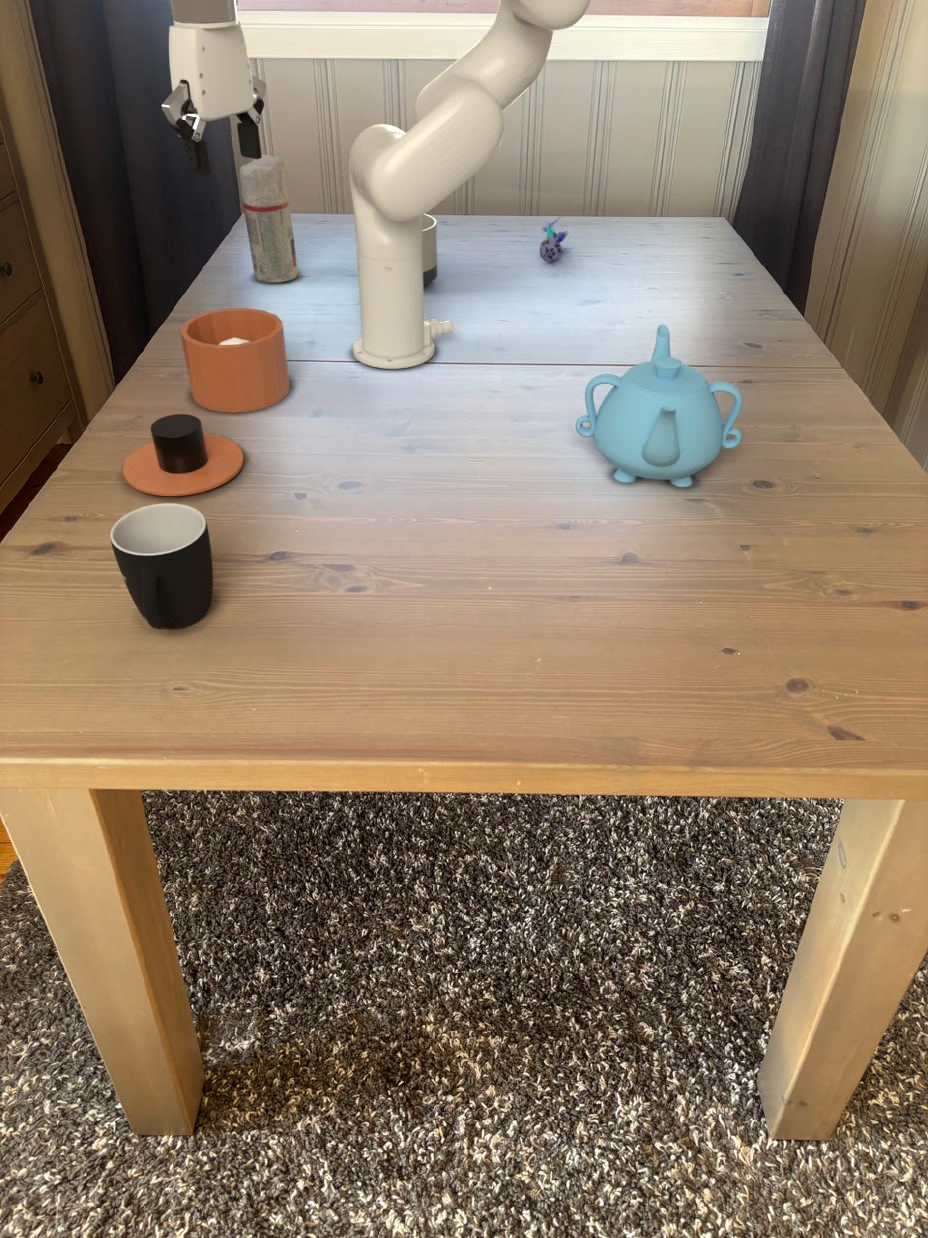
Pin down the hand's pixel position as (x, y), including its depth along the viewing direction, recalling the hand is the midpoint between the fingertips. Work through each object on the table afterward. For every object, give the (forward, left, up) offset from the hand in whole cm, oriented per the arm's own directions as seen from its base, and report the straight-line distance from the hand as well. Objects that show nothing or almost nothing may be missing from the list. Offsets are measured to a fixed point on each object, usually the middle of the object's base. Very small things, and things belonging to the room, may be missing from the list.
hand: (226, 165), depth 123 cm
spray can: (-16, -36, -28) cm, 49 cm away
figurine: (-68, -23, -28) cm, 77 cm away
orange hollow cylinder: (+4, +6, -28) cm, 29 cm away
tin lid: (+17, +24, -28) cm, 40 cm away
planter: (-35, -23, -28) cm, 51 cm away
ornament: (+4, +6, -28) cm, 29 cm away
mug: (+26, +53, -28) cm, 66 cm away
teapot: (-36, +50, -28) cm, 68 cm away
